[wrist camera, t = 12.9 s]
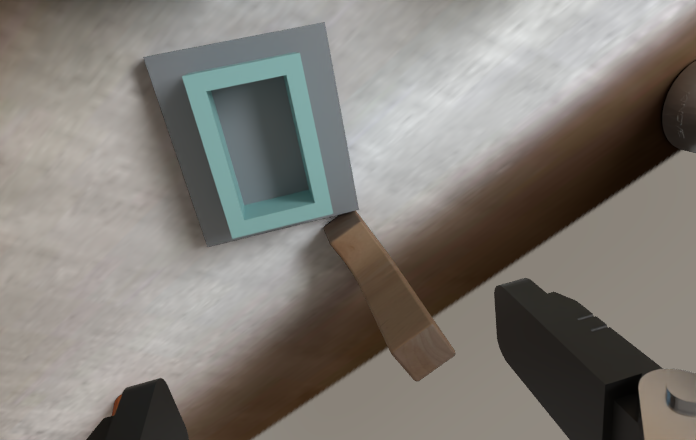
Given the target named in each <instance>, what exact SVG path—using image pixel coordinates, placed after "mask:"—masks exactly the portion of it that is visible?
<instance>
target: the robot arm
mask: <svg viewBox="0 0 696 440" xmlns="http://www.w3.org/2000/svg"><path fill="white" fill-rule="evenodd" d="M662 125H663V130H664V133H665V135H666V137H667V140H668V141H669V142H670V143H671V144H672V145H673V146H675V147H676V148H678V149H681V150H685V151H689V152H693V153H696V61H695V62H693V63H692V64H690V65H689V66H688V67H687V68H686V69H685V70H684V71H683V72H682V73H681V74H680V75H679V76H678V78H677V79H676V80H675V82H674V83H673V85H672V87H671V88H670V90H669V92H668V94H667V97H666V100H665V103H664V107H663V113H662ZM494 296H495V312H496V328H497V339H498V344H499V347H500V350H501V352H502V354H503V356H504V358H505V360H506V361H507V363H508V364H509V365H510V367H511V368H512V369H513V370H514V371H515V373H516V374H517V375H518V376H519V378H520V379H521V380H522V381H523V383H524V384H525V385H526V386H527V388H529V390H530V391H531V392H532V394H533V395H534V396H535V397H536V399H537V400H538V401H539V402H540V403H541V405H542V406H543V407H544V408H545V410H546V411H547V412H548V413H549V415H550V416H551V417H552V418H553V419H554V421H555V422H556V423H557V424H558V426H559V427H560V428H561V429H562V431H563V432H564V433H565V434H566V435H567V437H568V438H569V439H570V440H696V373H693V372H690V371H686V370H680V369H663V368H661V367H660V366H659V365H658V364H656V363H655V362H654V361H653V360H651V359H650V358H649V357H647V356H646V355H645V354H644V353H642V352H641V351H640V350H638V349H637V348H636V347H634V346H633V345H632V344H631V343H629V342H628V341H627V340H626V339H624V338H623V337H622V336H620V335H619V334H618V333H617V332H615V331H614V330H613V329H611V328H610V327H609V328H608V327H607V325H606V324H605V323H604V322H603V321H601V320H600V319H599V318H597V317H594V316H593V314H592V313H591V312H590V311H589V310H587V309H586V308H585V307H583V306H582V305H581V304H580V303H578V302H577V301H575V300H573V299H570V298H568V297H566V296H563V295H561V294H558V293H556V292H552V293H548V294H547V293H546V292H544V291H543V290H542V289H541V288H539V287H538V286H537V285H536V284H535V283H534V282H532V281H531V280H530V279H527V278H524V279H520V280H517V281H513V282H509V283H506V284H502V285H499V286H496V288H495V292H494ZM86 440H189V439H188V433H187V430H186V427H185V424H184V422H183V420H182V417H181V415H180V413H179V411H178V408H177V406H176V404H175V402H174V399H173V397H172V395H171V392H170V390H169V388H168V386H167V384H166V382H165V381H164V380H163V379H162V378H159V379H156V380H152V381H149V382H145V383H141V384H138V385H134V386H131V387H127V388H126V389H125V390H124V391H123V393H122V396H121V399H120V401H119V404H118V407H117V409H116V412H115V415H114V416H111V417H107V418H104V419H103V420H102V421H101V422H100V424H99V425H98V426H97V427H96V428H95V430H94V431H93V432H92V433H91V435H90V436H89V437H88V438H87V439H86Z"/></svg>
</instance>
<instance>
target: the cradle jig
mask: <svg viewBox="0 0 696 440" xmlns="http://www.w3.org/2000/svg"><path fill="white" fill-rule="evenodd" d="M143 58H144V61H145V64H146V67H147V70H148V72H149V75H150V78H151V81H152V84H153V87H154V90H155V93H156V96H157V99H158V102H159V105H160V108H161V111H162V114H163V117H164V120H165V123H166V126H167V129H168V132H169V135H170V138H171V140H172V143H173V146H174V149H175V152H176V155H177V158H178V161H179V164H180V167H181V170H182V173H183V176H184V179H185V182H186V185H187V188H188V191H189V194H190V197H191V200H192V203H193V206H194V208H195V211H196V214H197V217H198V220H199V223H200V226H201V229H202V232H203V235H204V238H205V241H206V244H207V247H211V246H215V245H219V244H223V243H227V242H231V241H235V240H239V239H243V238H247V237H251V236H255V235H259V234H263V233H267V232H271V231H275V230H279V229H283V228H287V227H291V226H295V225H299V224H303V223H307V222H311V221H315V220H319V219H323V218H327V217H331V216H335V215H339V214H343V213H347V212H351V211H355V210H359V208H358V202H357V197H356V191H355V186H354V180H353V175H352V169H351V164H350V158H349V153H348V147H347V142H346V137H345V131H344V126H343V120H342V115H341V109H340V104H339V98H338V93H337V87H336V82H335V76H334V71H333V65H332V60H331V55H330V49H329V44H328V38H327V33H326V27H325V22H323V23H318V24H313V25H308V26H302V27H297V28H292V29H287V30H282V31H277V32H271V33H266V34H261V35H256V36H251V37H245V38H240V39H235V40H230V41H225V42H219V43H214V44H209V45H204V46H199V47H194V48H188V49H183V50H178V51H173V52H168V53H162V54H157V55H152V56H147V57H143Z"/></svg>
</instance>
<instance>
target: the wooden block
mask: <svg viewBox="0 0 696 440" xmlns="http://www.w3.org/2000/svg"><path fill="white" fill-rule="evenodd" d="M324 231H325V233H326V235H327V238H328V240H329V242H330V245H331V246H332V247H333V248H334V250H335V251H336V252H337V253H338V254H339V256H340V257H341V258H342V260H343V261H344V262H345V264H346V265H347V266H348V268H349V269H350V271H351V272H352V274H353V276H354V277H355V279H356V281H357V282H358V284H359V286H360V288H361V291H362V293H363V295H364V297H365V299H366V301H367V303H368V305H369V308H370V310H371V312H372V314H373V316H374V318H375V320H376V322H377V324H378V327H379V329H380V331H381V333H382V335H383V337H384V339H385V341H386V344H387V346H388V348H389V350H390V352H391V354H392V355H393V356H394V357H395V359H396V360H397V361H398V362H399V363H400V364H401V366H402V367H403V368H404V369H405V370H406V371H407V373H409V375H410V376H411V377H412V378H413V380H415V381H420V380H421V379H422V378H424V377H425V376H427V375H428V374H429V373H431V372H432V371H433V370H435V369H436V368H438V367H439V366H441V365H442V364H443V363H445V362H446V361H448V360H449V359H450V358H452V357H453V356H454V355H455V350H454V349H453V347H452V346H451V344H450V343H449V342H448V340H447V339H446V337H445V336H444V334H443V333H442V331H441V330H440V329H439V327H438V326H437V324H436V323H435V321H434V320H433V318H432V317H431V315H430V314H429V312H428V311H427V309H426V308H425V306H424V305H423V304H422V302H421V301H420V299H419V298H418V296H417V295H416V293H415V292H414V290H413V289H412V288H411V286H410V285H409V283H408V282H407V280H406V279H405V277H404V276H403V274H402V273H401V271H400V270H399V269H398V267H397V266H396V264H395V263H394V261H393V260H392V258H391V257H390V255H389V254H388V253H387V251H386V250H385V249H384V247H383V246H382V245H381V244H380V242H379V241H378V240H377V238H376V237H375V236H374V234H373V233H372V232H371V230H370V229H369V228H368V226H367V225H366V224H365V222H364V221H363V220H362V218H361V217H360V216H359V214H358V213H357V212H356V210H355V211H351V212H347V213H343V214H341V215H340V216H338V217H337V218H336V219H334V220H333V221H332V222H330V223H329V224H328V225H326V226H325V227H324Z"/></svg>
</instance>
